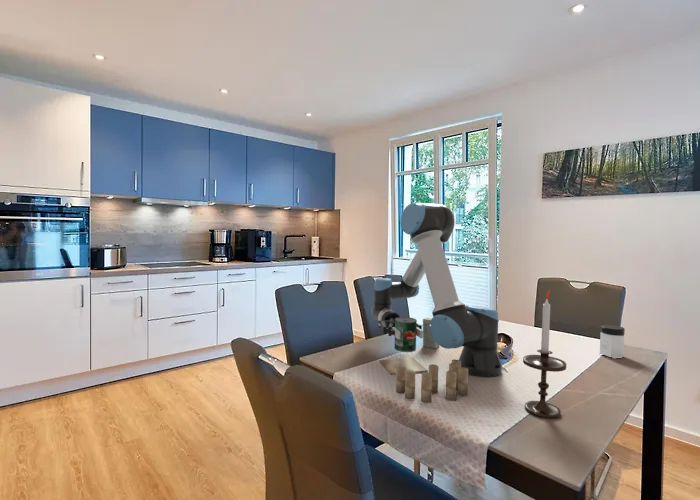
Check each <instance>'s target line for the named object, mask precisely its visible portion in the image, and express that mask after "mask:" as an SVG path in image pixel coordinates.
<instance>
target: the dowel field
mask: <svg viewBox="0 0 700 500" xmlns="http://www.w3.org/2000/svg"><path fill="white" fill-rule="evenodd" d="M395 375H396V376H395V392H396V393H398V394H404V398H405V399H406V400H408V401H413V400H415V399H416V373H415V371H413V370H406V366H405V365H401V364H399V365H397V366H396V374H395ZM420 382H421V384H420V385H421V386H420V388H421V389H420V390H421V391H420V392H421V393H420V401H421V402H422V403H424V404H431V402H432V394H436V393H438V392H439V366H438V364H429V365H428V372H421V381H420ZM468 388H469V374H468V369H467V368H465V367H461V361H460V360H459V359H452V360H451V362H450V363H448V370H447V371H446V372H445V399H446V400H447V401H452V402H453V401H456V399H457V395H458V396H460V397H467V396H468V393H469V391H468V390H469V389H468Z"/></svg>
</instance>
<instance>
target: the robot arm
mask: <svg viewBox="0 0 700 500" xmlns="http://www.w3.org/2000/svg"><path fill="white" fill-rule="evenodd" d="M455 221H456V220H455V216H454V213H453V211H452V210H451V209H450V208H449V207H448V206H447V205H444V204H440V203H426V202H425V203H423V202H412V203H410V204H408V205H406V207H404V210H402V213H401V217H400V228H401V230H402V232H404V233H405V234H407V235H410V239H411V242H412V243H413V244H415V245H416V246H417V248H418V249H417V251H416V253H415V254H414V256H413V258H412V259H411V261H410V264H409V265H408V267H407V269H406V271H405V272H404V274H403V276H402V277H401V279H400V281H393V280H392V278H390V277H378V278H376V279H375V280H374V287H373V293H374V302H373V306H372V308H371V310H370V311H371V312H370V313H371V316H372V318H373V319H374V320H375V321H376V322H378V325H377V326H378V328H379V329H380V330H381V332H382V334H385V335H386V334H387V333H388V335H387V336H388V337H392V336H393V337H394V338H395V337H396V338H397V339H400V331H399V330H397V329H396V328H395V319H396V318H398V317H401V316H400V314H398V313H397V312H396V311H394V310H392V300H397V299H398V300H399V299H400V300H401V299H410V298H413V297H416V296H418V294H419V292H420V285H419V284H420V282H421V280H422V279H423V277H424V276H426V280H427V283H428V288H429V291H430V295H431V298H432V301H433V304H434V308H433V310H432V312H431V313H432V317H431V318H432V319H431V321H430V323H431V324H430V333H431V336H432V338H433V339H434V341H435V342H436V343H437V344H438V345H439V347H440V348H444V349H446V350H449V349H459V348H461V347H462V350H461V353H460V356H459V357H458V358H459V359H458V360H460V361H461V367H465V368H467V369H468V375H471V376H477V377H482V378H483V377H487V378H489V377H496V376H497V377H498V376H500V375H501V374H502V373H503V372H502V370H503V367H502V363H501V359H500V355H499V352H498V339H499V337H498V336H499V335H498V333H499V321H500V320H499V312H498V311H497V310H496V309H494V308H491V307H486V306H479V305H471V304H468V305H466V304H465V303H463V302H461V301H460V299H459V296H458V292H457V291H456V290H457V289H456V286H455V283H454V281H453V277H452V274H451V271H450V267H449V264H448V260H447V257H446V253H445V251H444V247H443V244H445V243H447V242H448V241H449V239H450V237H451V236H452V234H453V231H454V230H455V229H454V227H455ZM416 329H417V330H416V337H418V338H420V339H423V324H422V325H421V324H420V323H417V328H416Z"/></svg>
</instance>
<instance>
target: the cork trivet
mask: <svg viewBox="0 0 700 500" xmlns="http://www.w3.org/2000/svg"><path fill="white" fill-rule="evenodd" d="M378 362H379V363H380V364H381V366H383V368H384V369H385V370H386V371H387V372H388V373H389V375H392V376H393V375H396V366H397V365H399V364H401V365H405V366H406V370H413V371H415V374H419V373H421V374H422V373H425V372H426V373H429V369H428V368H426V367H425V366H424V365H422V364H421V363H420V362H419V361H418V360H417V359H416V358H414V357H403V358H388V359H379V360H378Z"/></svg>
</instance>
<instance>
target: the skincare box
mask: <svg viewBox="0 0 700 500" xmlns="http://www.w3.org/2000/svg"><path fill="white" fill-rule="evenodd" d="M432 318H433V317H425V318H423V319H422V331H423V338H422V347H426V348H429V349H430V348H432V349H437V348H439V347H440V345H438V344H437V343H436V342H435V341H434V339H433V338H432V336H431V333H430V324H431V323H430V321H431V319H432Z"/></svg>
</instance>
